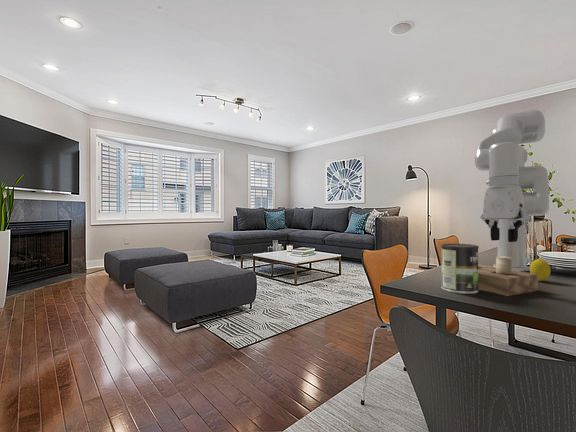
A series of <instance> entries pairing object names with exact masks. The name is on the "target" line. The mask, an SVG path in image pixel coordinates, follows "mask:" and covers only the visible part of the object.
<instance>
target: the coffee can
mask: <svg viewBox="0 0 576 432" xmlns="http://www.w3.org/2000/svg"><path fill="white" fill-rule="evenodd" d="M440 247H441V248H440V249H441V252H440V253H441V289H442V291H445V292H450V293H452V294H453V293H454V294H463V295H465V294H466V295H472V294H473V295H474V294H478V293H479V290H480V289H478V265H479V247H480V246H479V245H476V244H467V243H441V244H440Z"/></svg>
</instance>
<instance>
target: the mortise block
mask: <svg viewBox="0 0 576 432" xmlns="http://www.w3.org/2000/svg"><path fill="white" fill-rule="evenodd" d="M538 282H539V281H538V274H532V273H530V272H527V271H514V270H512V275H508V276H506V275H501V274H496V267H493V266H489V265H483V264H478V290H480V291H485V292H490V293H493V294H498V295H502V296H506V297H509V296H510V297H511V296H515V295H521V294H526V293H533V292H537V291H538V289H539V288H538V287H539V286H538V285H539V284H538Z"/></svg>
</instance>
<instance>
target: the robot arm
mask: <svg viewBox="0 0 576 432" xmlns="http://www.w3.org/2000/svg"><path fill="white" fill-rule="evenodd" d="M545 131H546V118H545V115H544V113H543V112H542V111H541V110H539V109H531V110H526V111H520V112H519V111H518V112H513V113H509V114H505V115H503V116H501V117H500V118H499V119H498V120H497V122H496V125H495V128H493V130H492V131H491V135H489V136H488V137H486V138H484V139H483V140H481V141H480V143H479V144H478V146H477V147H476V152H475V157H474V165H475V167H476V169H478V170H479V171H481V172H482V171H483V172H486V171H488V177H489V178H488V180H486V181H485V185H487V186H488V187H486V189H485V191H484V199H483V209H482V210H483V212H482V214H481V216H480V219H481V221H483V222H484V223H485V224H486V225H487V226H488V228H489V229H490V231H489V232H490V233H489V235H490V241H497V256H503V257H511V258H512V270H514V271H520V272H530V265H527V264H531V263H532V259H531V258H529V257H528V258H527V245H526V244H527V240H526V239H527V238H526V237H527V228H526V225H525V223H526V222H528V221H529V220H530V219H531V217H534V216H535V217H538V216H539V217H541V216H545V215H547V213H548V212H549V209H550V189H549V188H550V186H549V173H548V170H547V168H546V167H544V166H543V165H530V166H525V164H526V162H528V158H529V157H528V151H527V149H525V147H524V146H522V145H523V144H524V145H525V144H530V143H531V144H533V143H537V142H540V141H541V140H543V138H544V136H545V133H546V132H545ZM525 190H526V191H527V190H528V191H529V190H531V191H533V192H531V191H530V192H523V191H525ZM492 267H496V263H493V265H492Z"/></svg>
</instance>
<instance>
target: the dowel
mask: <svg viewBox="0 0 576 432" xmlns="http://www.w3.org/2000/svg"><path fill="white" fill-rule="evenodd" d="M495 264H496V274H501V275H506V276H508V275H512V258H511V257H503V256H498V255H497V256H495Z"/></svg>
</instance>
